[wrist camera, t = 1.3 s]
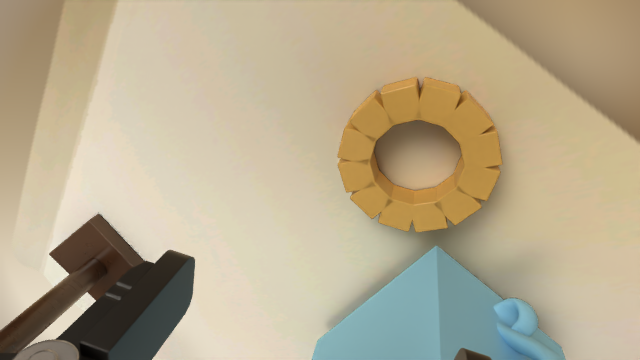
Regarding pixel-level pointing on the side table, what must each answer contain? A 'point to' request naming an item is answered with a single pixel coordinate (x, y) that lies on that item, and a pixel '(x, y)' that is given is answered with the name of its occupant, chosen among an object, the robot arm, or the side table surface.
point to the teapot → (437, 320)
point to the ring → (433, 107)
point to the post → (74, 279)
